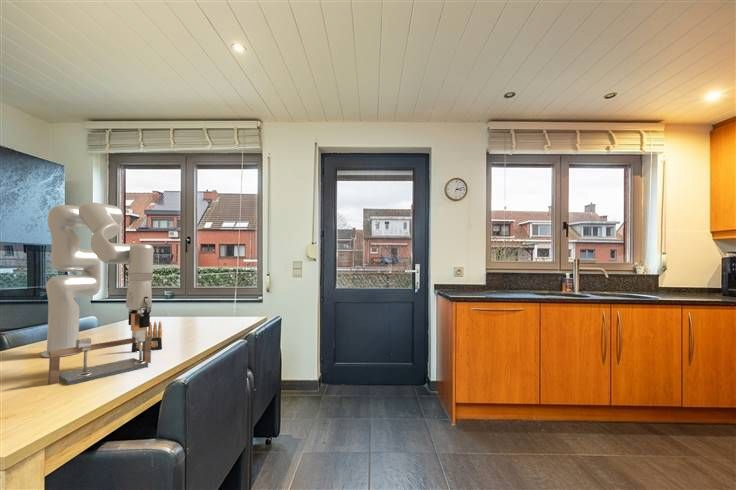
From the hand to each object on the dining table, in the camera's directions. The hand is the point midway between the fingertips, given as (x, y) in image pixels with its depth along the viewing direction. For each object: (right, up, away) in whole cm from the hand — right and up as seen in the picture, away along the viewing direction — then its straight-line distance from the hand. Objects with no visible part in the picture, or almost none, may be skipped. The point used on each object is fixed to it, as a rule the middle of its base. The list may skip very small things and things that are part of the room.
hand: (138, 325), depth 125 cm
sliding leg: (0, -12, -1) cm, 12 cm away
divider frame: (-6, -14, -9) cm, 17 cm away
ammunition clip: (-9, -15, +19) cm, 26 cm away
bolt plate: (-6, -14, -9) cm, 17 cm away
